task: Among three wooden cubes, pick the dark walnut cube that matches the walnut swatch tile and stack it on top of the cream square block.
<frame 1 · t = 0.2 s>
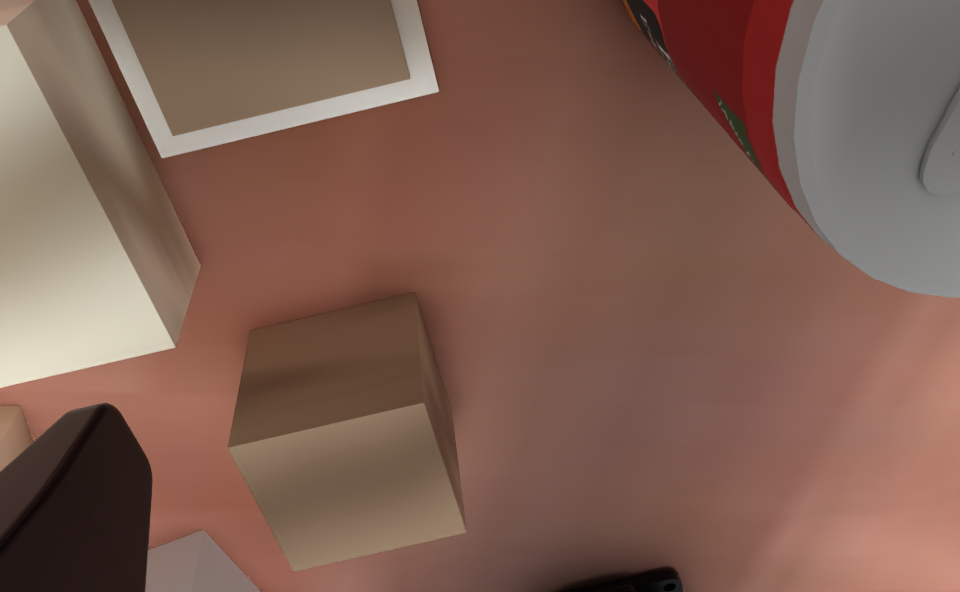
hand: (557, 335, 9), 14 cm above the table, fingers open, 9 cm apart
walnut block: (356, 372, 27), on the table
grey block: (180, 590, 31), on the table
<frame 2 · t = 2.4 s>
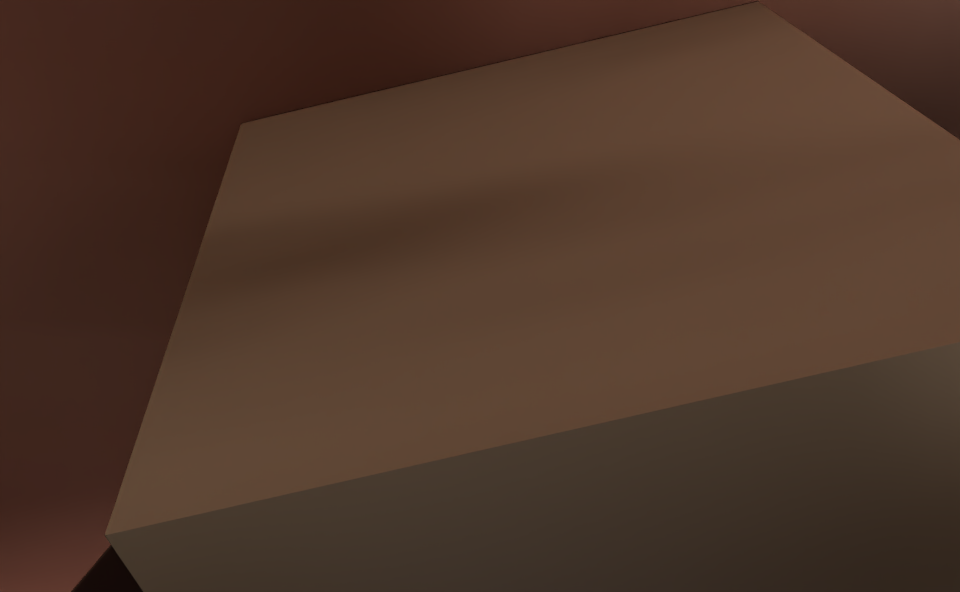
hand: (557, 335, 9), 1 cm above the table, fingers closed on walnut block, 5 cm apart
walnut block: (540, 279, 9), on the table, touching gripper
when the fingers open (6 cm above the table, at t = 5.4 s): walnut block drops 1 cm, resting on cream square block.
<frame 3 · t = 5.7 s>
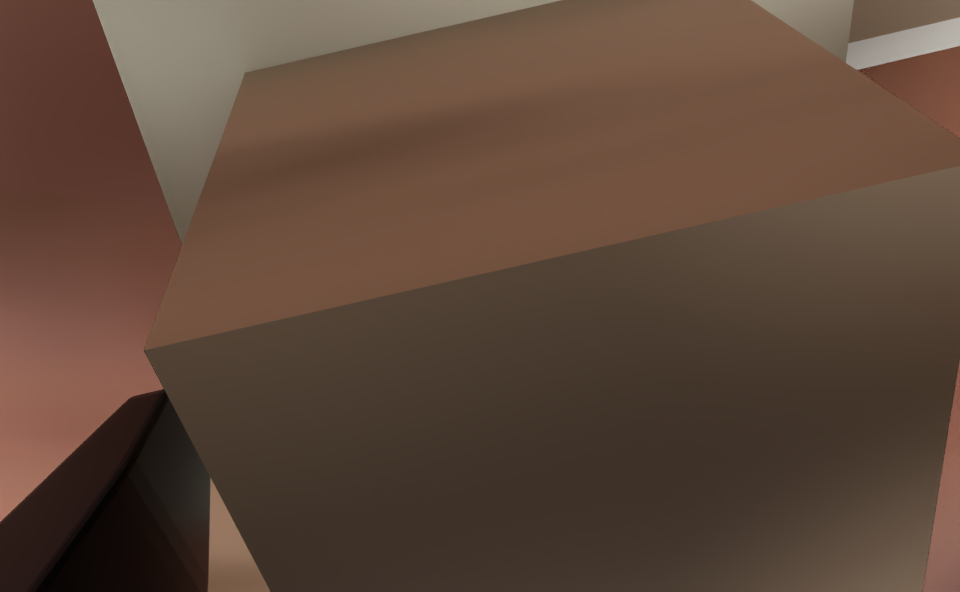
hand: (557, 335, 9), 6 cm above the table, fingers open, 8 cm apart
walnut block: (512, 222, 10), point 4 cm above the table, touching cream square block
maple block: (299, 550, 19), on the table
cream square block: (479, 103, 14), on the table, touching walnut block
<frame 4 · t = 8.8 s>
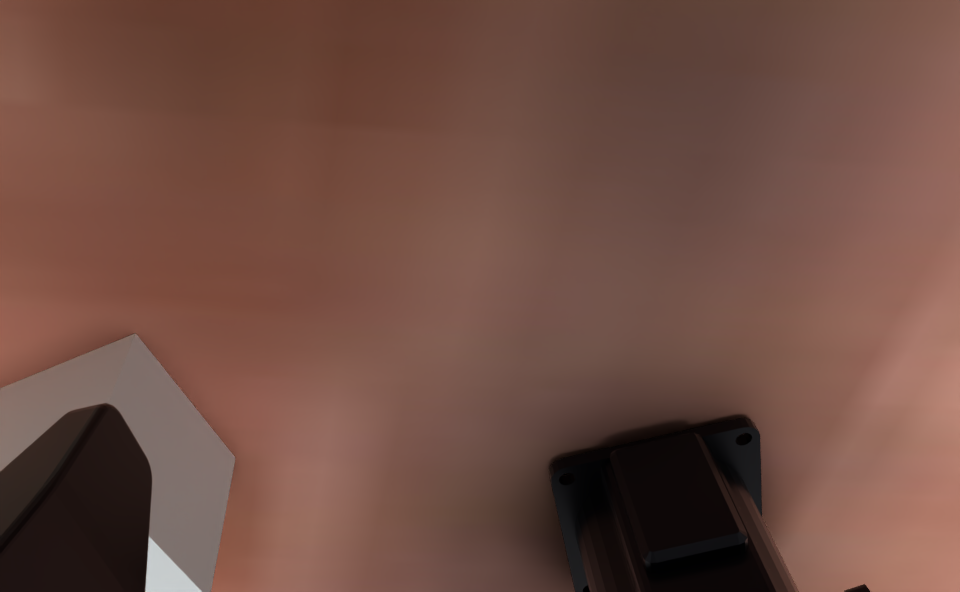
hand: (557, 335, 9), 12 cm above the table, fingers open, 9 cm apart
grey block: (110, 428, 24), on the table
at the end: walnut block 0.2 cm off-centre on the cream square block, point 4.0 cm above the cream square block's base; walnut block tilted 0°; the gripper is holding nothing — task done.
